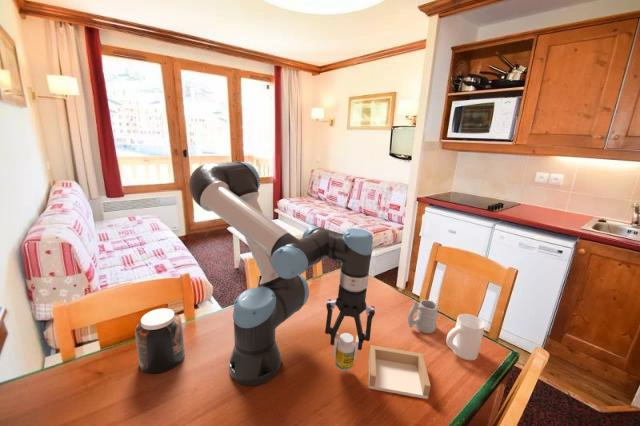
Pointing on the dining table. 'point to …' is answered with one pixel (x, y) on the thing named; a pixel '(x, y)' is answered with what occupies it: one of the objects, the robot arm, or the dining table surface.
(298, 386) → the dining table surface
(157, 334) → the jar
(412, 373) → the u rest
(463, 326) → the mug
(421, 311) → the mug
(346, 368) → the supplement bottle
